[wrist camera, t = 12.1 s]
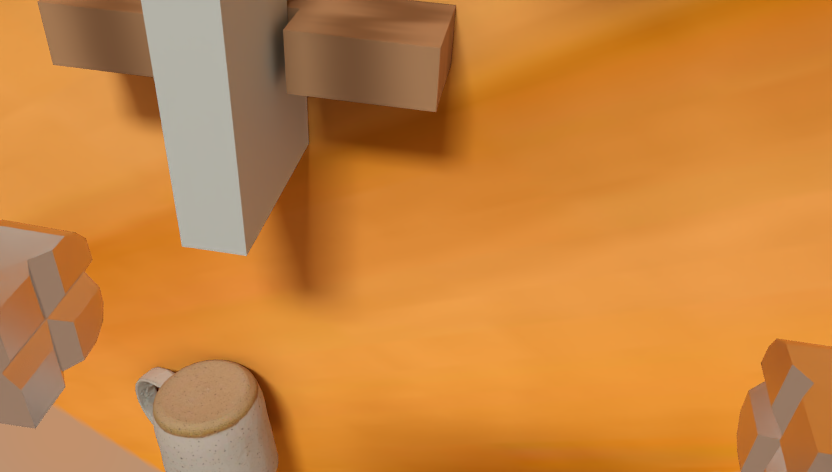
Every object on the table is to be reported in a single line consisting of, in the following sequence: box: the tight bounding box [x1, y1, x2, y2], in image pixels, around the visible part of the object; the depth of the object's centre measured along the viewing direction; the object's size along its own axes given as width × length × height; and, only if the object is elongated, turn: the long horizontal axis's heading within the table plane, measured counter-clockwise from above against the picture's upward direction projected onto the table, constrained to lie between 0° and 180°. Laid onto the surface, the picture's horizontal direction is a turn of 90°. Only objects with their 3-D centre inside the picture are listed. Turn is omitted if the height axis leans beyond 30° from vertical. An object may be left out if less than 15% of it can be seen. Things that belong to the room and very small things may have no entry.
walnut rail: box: [38, 0, 456, 112], centre depth 37 cm, size 18×3×5 cm, turn 87°
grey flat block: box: [141, 0, 309, 256], centre depth 35 cm, size 14×3×10 cm, turn 177°
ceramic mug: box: [136, 360, 278, 472], centre depth 54 cm, size 11×8×8 cm
